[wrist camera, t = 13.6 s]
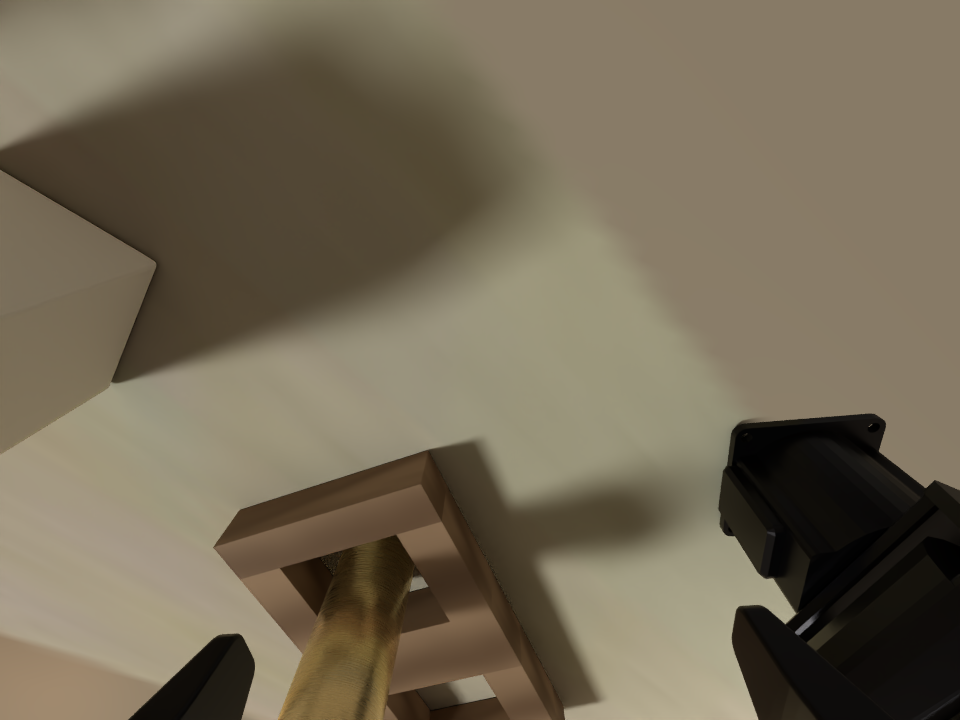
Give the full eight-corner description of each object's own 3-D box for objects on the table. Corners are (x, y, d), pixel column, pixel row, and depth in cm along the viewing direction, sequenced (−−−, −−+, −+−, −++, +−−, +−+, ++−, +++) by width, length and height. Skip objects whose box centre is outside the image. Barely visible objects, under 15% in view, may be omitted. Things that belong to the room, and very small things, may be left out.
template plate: (239, 510, 24) (213, 547, 22) (428, 450, 22) (420, 483, 20) (414, 735, 33) (408, 779, 30) (563, 705, 31) (568, 750, 28)
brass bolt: (436, 539, 25) (374, 923, 13) (409, 597, 27) (333, 977, 15) (346, 511, 24) (189, 886, 12) (326, 573, 26) (174, 947, 14)
